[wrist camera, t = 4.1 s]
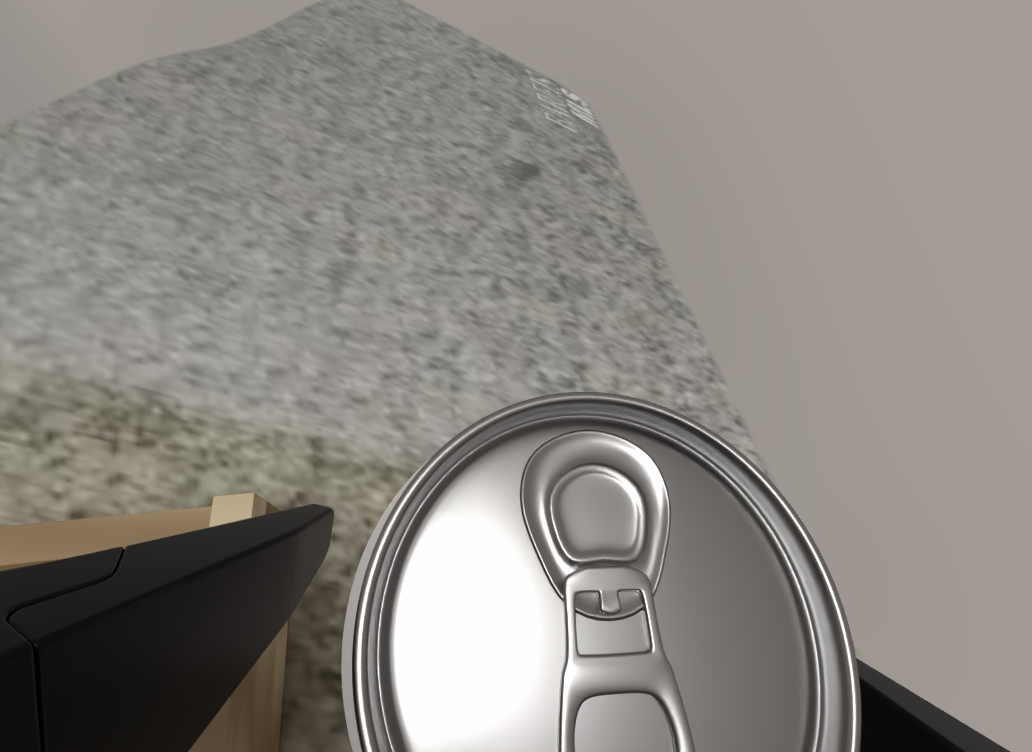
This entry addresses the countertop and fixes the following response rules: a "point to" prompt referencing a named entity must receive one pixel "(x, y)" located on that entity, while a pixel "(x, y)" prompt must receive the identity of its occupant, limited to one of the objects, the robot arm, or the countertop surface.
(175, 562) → the robot arm
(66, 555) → the rack
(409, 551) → the can
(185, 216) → the countertop surface
